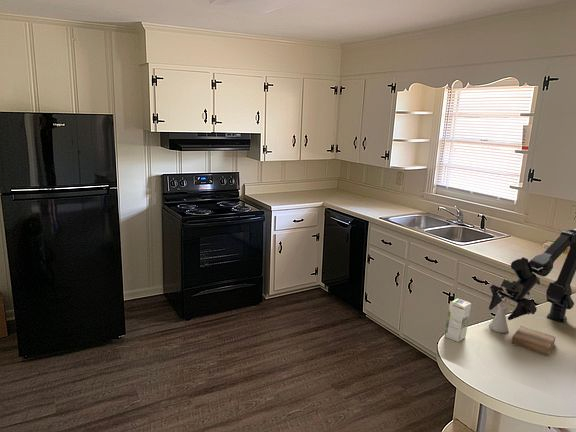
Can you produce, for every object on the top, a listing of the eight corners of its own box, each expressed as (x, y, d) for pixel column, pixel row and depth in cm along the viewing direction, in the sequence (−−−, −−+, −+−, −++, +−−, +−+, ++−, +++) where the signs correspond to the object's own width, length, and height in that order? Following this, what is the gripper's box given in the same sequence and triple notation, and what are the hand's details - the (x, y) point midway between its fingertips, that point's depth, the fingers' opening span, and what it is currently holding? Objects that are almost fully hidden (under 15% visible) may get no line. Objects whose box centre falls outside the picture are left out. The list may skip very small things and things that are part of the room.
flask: (502, 325, 181) (507, 302, 179) (512, 334, 174) (516, 310, 172) (485, 324, 181) (489, 301, 179) (494, 333, 174) (498, 309, 172)
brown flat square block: (519, 332, 175) (520, 325, 175) (554, 344, 168) (555, 336, 167) (511, 343, 166) (512, 336, 166) (547, 356, 159) (548, 348, 158)
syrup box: (451, 332, 173) (456, 297, 169) (465, 338, 169) (471, 302, 165) (444, 336, 169) (449, 301, 166) (459, 343, 165) (464, 306, 162)
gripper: (496, 265, 182) (471, 293, 180) (536, 281, 165) (510, 313, 164) (507, 281, 187) (483, 308, 185) (547, 299, 170) (521, 329, 168)
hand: (498, 314), depth 175 cm, fingers open, 9 cm apart
